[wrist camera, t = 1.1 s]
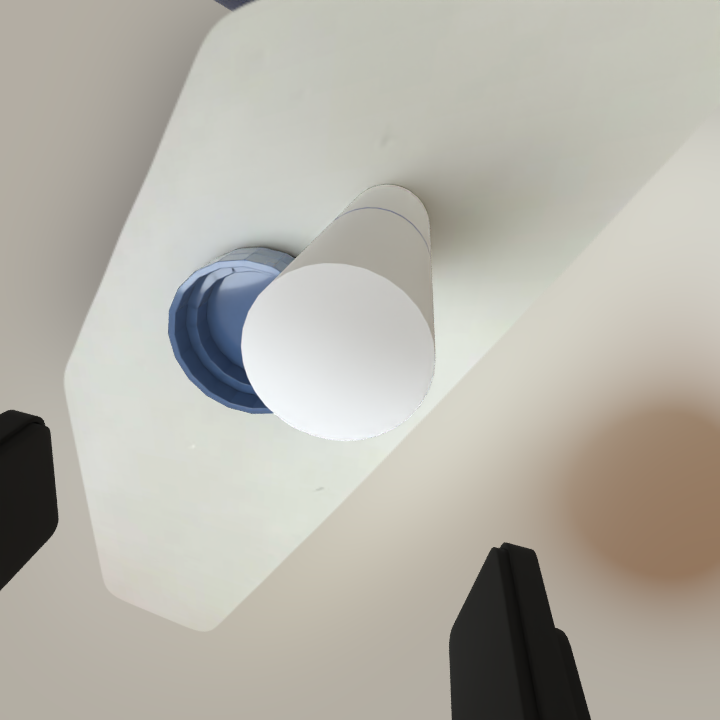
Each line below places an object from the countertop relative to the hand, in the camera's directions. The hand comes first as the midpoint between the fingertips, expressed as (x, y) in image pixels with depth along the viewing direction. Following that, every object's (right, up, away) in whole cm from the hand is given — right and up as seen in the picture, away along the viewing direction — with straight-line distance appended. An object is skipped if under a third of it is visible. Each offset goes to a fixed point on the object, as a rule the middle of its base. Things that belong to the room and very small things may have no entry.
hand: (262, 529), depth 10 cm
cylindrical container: (+4, +14, +30) cm, 33 cm away
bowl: (-7, +7, +35) cm, 36 cm away
